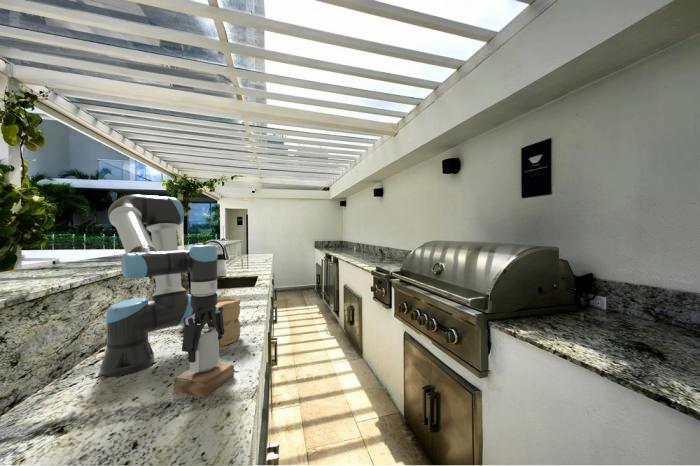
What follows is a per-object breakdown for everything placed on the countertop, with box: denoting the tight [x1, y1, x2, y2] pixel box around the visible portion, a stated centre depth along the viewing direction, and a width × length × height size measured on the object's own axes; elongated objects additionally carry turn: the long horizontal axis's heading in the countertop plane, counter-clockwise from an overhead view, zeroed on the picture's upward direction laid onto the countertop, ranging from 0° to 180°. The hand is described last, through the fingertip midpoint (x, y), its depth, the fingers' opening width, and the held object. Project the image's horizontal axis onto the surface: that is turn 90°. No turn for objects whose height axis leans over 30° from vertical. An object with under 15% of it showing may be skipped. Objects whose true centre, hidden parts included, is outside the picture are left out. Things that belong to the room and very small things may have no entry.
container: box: [215, 296, 241, 348], centre depth 121 cm, size 13×13×18 cm
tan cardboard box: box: [173, 361, 235, 399], centre depth 87 cm, size 12×12×4 cm
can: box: [192, 326, 219, 372], centre depth 87 cm, size 8×8×12 cm
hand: (205, 364), depth 87 cm, fingers closed on can, 7 cm apart
